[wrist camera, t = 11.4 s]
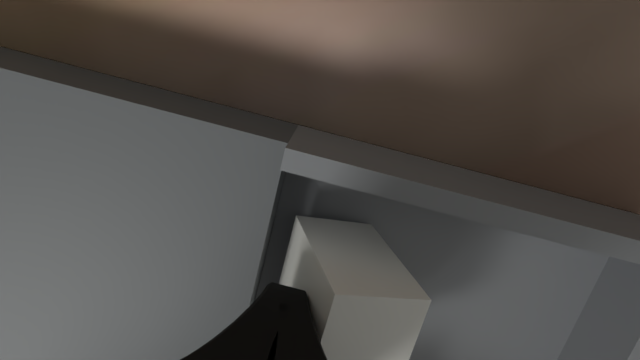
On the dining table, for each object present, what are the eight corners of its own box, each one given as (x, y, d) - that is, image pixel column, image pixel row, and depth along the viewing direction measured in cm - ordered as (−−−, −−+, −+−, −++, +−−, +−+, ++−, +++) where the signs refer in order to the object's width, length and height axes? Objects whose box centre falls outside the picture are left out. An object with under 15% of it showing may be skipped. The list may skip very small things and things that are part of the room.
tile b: (268, 325, 15) (338, 328, 16) (293, 430, 11) (383, 426, 12) (295, 215, 14) (371, 224, 15) (335, 294, 10) (431, 300, 11)
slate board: (210, 492, 19) (190, 556, 17) (-72, 420, 19) (-133, 476, 17) (298, 125, 14) (287, 143, 12) (-81, 25, 14) (-169, 23, 12)
